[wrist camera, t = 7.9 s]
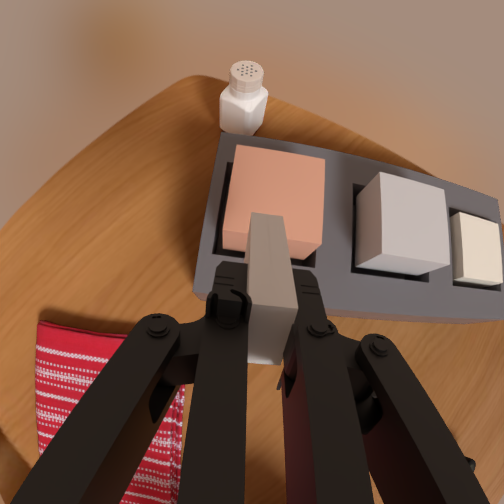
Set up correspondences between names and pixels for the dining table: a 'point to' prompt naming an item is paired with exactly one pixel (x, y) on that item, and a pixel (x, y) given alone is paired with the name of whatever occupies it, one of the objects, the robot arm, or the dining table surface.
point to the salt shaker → (243, 99)
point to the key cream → (475, 252)
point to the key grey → (401, 226)
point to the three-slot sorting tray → (344, 242)
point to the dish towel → (73, 388)
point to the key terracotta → (276, 197)
